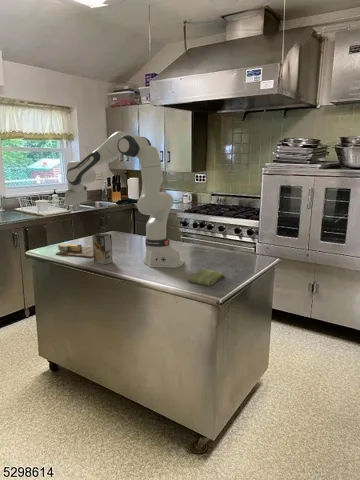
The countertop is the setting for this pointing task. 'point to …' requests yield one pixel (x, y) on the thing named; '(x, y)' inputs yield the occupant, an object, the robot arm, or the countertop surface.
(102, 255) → the coffee box
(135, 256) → the countertop surface
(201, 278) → the washcloth
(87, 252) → the board
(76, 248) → the bar
